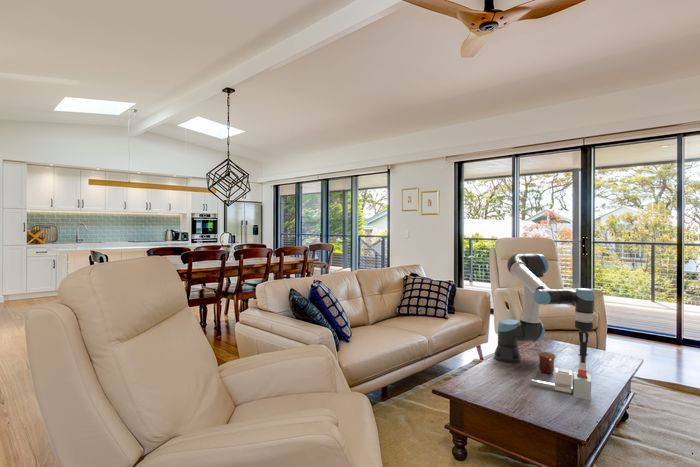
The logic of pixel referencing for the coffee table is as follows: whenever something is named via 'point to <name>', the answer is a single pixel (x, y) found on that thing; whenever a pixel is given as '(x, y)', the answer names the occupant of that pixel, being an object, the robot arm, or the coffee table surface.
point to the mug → (546, 362)
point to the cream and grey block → (563, 379)
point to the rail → (546, 385)
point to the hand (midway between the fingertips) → (582, 368)
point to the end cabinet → (582, 386)
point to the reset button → (582, 372)
